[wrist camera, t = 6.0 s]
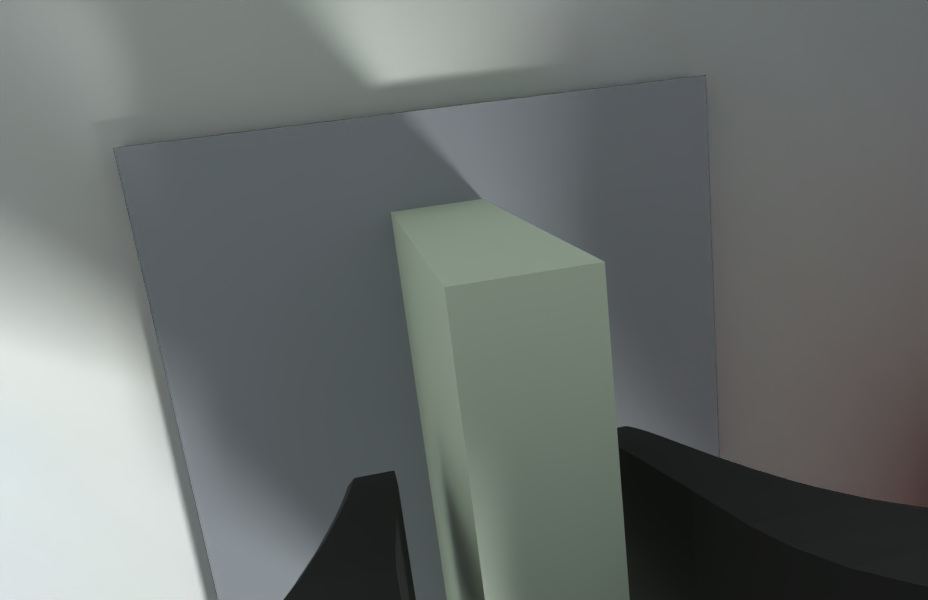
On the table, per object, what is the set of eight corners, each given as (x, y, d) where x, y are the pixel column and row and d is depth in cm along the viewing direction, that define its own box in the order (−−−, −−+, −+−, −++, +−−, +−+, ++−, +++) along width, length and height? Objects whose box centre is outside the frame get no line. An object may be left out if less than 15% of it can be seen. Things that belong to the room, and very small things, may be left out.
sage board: (481, 199, 13) (604, 262, 7) (531, 638, 15) (655, 946, 10) (390, 212, 13) (445, 287, 7) (455, 656, 15) (534, 982, 9)
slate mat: (692, 77, 14) (705, 75, 13) (714, 634, 17) (726, 650, 16) (121, 146, 12) (113, 148, 12) (258, 743, 15) (256, 763, 15)
